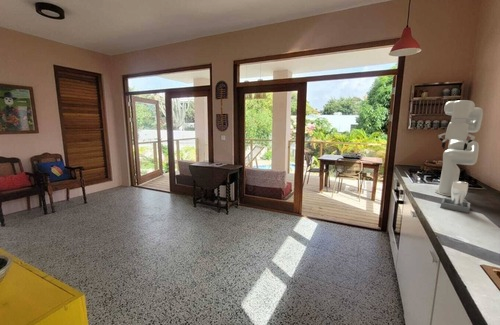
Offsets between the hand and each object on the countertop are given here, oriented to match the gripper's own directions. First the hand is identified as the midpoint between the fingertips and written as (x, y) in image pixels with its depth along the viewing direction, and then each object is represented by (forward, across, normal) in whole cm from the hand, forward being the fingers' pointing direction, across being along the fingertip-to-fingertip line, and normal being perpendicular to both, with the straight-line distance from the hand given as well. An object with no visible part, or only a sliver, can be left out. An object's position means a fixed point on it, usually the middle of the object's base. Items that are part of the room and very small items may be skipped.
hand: (453, 149), depth 146 cm
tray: (+33, -6, +12) cm, 36 cm away
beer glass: (+33, -6, +11) cm, 35 cm away
